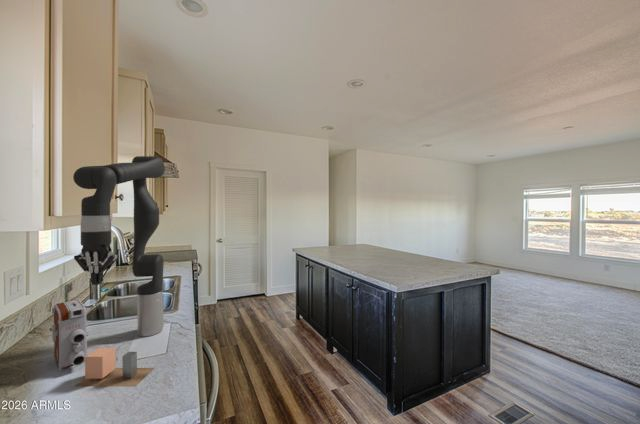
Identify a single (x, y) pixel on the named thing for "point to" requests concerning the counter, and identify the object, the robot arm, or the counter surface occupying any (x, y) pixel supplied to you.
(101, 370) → the peach foam brick
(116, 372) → the board
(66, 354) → the cine camera
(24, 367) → the counter surface
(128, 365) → the steel post
